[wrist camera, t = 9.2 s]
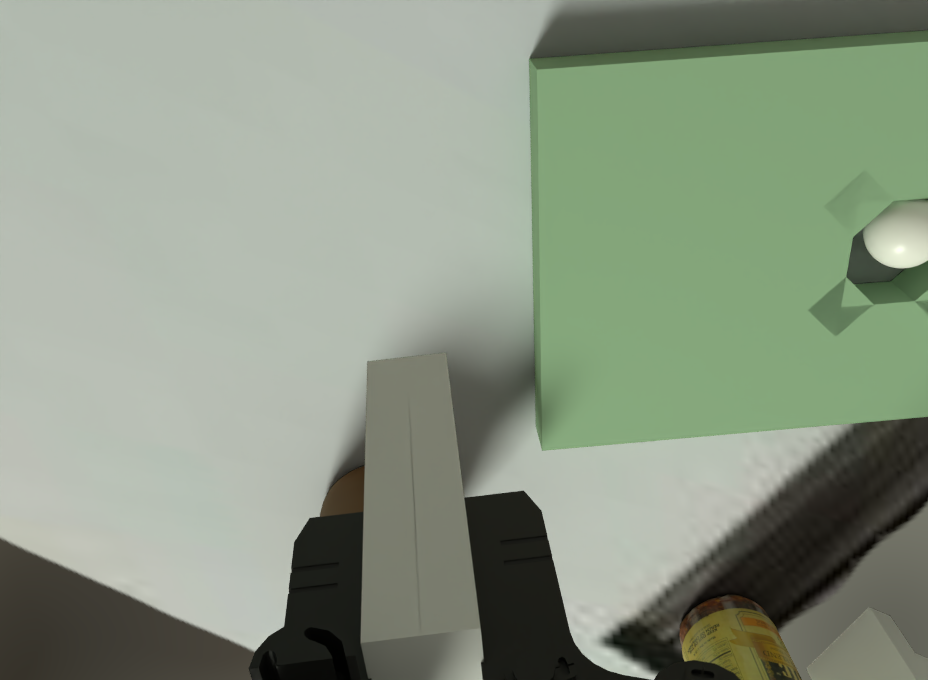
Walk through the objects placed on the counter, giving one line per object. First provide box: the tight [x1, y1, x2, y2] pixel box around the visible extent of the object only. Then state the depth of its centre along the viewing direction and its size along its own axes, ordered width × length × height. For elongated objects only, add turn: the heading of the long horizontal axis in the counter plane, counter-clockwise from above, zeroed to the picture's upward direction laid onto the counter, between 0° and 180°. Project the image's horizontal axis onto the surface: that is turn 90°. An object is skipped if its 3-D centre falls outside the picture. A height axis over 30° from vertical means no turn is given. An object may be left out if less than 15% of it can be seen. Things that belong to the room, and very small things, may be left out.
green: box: [529, 30, 928, 451], centre depth 37 cm, size 22×25×18 cm
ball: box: [863, 199, 928, 268], centre depth 42 cm, size 4×4×4 cm
